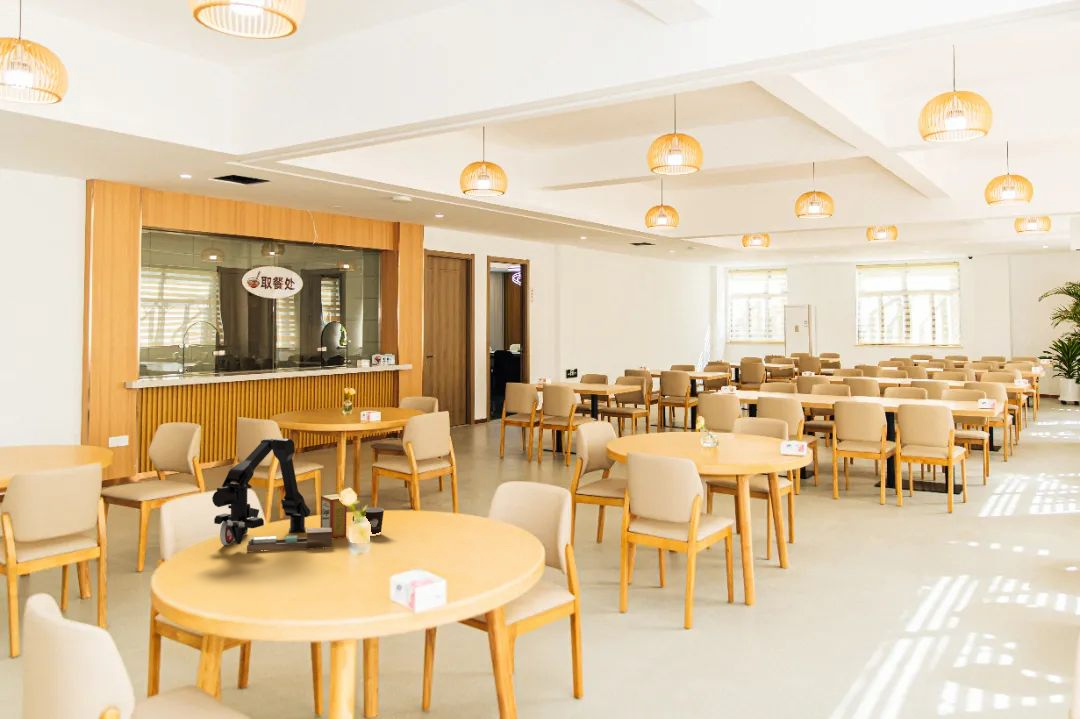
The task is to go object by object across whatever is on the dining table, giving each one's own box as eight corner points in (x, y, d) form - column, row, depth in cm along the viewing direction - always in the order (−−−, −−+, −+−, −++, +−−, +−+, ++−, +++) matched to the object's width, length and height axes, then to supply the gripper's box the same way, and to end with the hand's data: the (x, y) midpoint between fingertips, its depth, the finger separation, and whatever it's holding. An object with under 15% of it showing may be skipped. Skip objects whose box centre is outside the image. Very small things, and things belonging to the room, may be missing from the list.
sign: (243, 533, 313) (243, 508, 313) (248, 533, 313) (248, 509, 313) (219, 548, 291) (220, 521, 291) (224, 548, 291) (224, 521, 291)
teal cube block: (285, 549, 291) (285, 538, 291) (286, 546, 295) (286, 535, 295) (296, 548, 292) (296, 538, 292) (297, 545, 296) (297, 535, 296)
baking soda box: (346, 536, 310) (346, 496, 310) (330, 539, 306) (331, 498, 306) (335, 532, 318) (336, 493, 317) (320, 534, 313) (320, 494, 313)
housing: (248, 547, 292) (248, 531, 292) (331, 542, 301) (331, 527, 301) (246, 552, 285) (247, 535, 285) (331, 547, 294) (331, 531, 294)
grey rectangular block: (251, 547, 291) (251, 537, 291) (276, 546, 294) (276, 535, 294) (250, 550, 287) (250, 539, 287) (275, 549, 290) (276, 538, 290)
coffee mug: (386, 532, 319) (386, 508, 318) (379, 537, 310) (380, 512, 310) (358, 531, 320) (358, 507, 320) (351, 536, 311) (351, 511, 311)
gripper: (274, 500, 292) (274, 541, 292) (235, 495, 299) (235, 536, 299) (253, 505, 281) (252, 548, 282) (213, 501, 288) (213, 543, 289)
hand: (238, 543), depth 288 cm, fingers closed
